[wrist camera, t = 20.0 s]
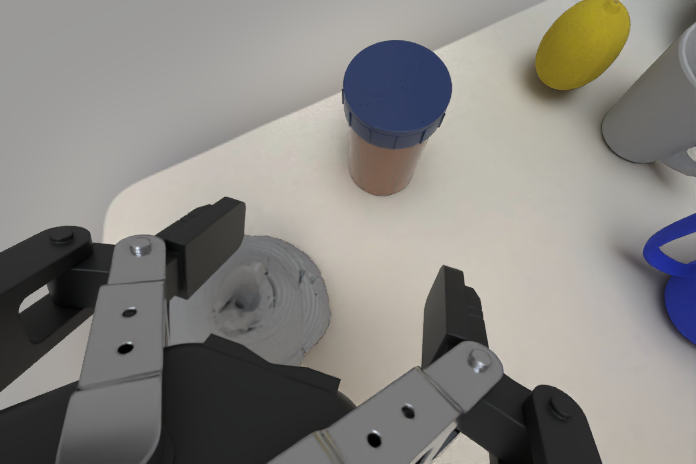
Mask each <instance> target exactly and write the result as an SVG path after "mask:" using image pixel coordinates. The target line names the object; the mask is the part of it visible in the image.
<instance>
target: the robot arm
mask: <svg viewBox="0 0 696 464" xmlns="http://www.w3.org/2000/svg"><path fill="white" fill-rule="evenodd" d="M245 210H246V206H245V203H244V202H242V201H239V200H235V199H232V198H229V197H224V198H222V199H221V200H219V201H218V202H216V203H215V204H213V205H210V204H208V205H205V206H202V207H198V208H196V209H194V210H193V211H191V212H190V213H188V215H185V216H184V217H182V218H181V219H180V220H178V221H176V222H175V223H173V224H172V225H170V226H169V227H167V228H165V229H164V230H162V231H161V232H159V233H158V234H156V235H155V236H153V235H134V236H130V237H127V238H124V239H122V240H121V241H119V242H118V243H117V244H116V245H112V244H102V243H92V239H91V235H90V232H89V231H88V230H86V229H85V228H82V227H78V226H60V227H54V228H50V229H47V230H44V231H42V232H40V233H38V234H36V235H34V236H32V237H30V238H28V239H26V240H24V241H22V242H20V243H18V244H16V245H14V246H13V247H10V248H8V249H6V250H4V251H3V252H0V392H1V391H2V390H3V389H5V388H6V387H7V386H8V385H9V384H11V383H12V382H13V381H14V380H15V379H17V378H18V377H19V376H20V375H21V374H22V373H24V372H25V371H26V370H27V369H28V368H30V367H31V366H32V365H33V364H34V363H35V362H37V361H38V360H39V359H40V358H41V357H42V356H44V355H45V354H46V353H47V352H49V351H50V350H51V349H52V348H53V347H54V346H56V345H57V344H58V343H59V342H60V341H62V340H63V339H64V338H65V337H66V336H68V335H69V334H70V333H71V332H72V331H73V330H74V329H76V328H77V327H78V326H79V325H81V324H82V323H83V322H84V321H85V320H86V319H88V318H89V317H90V316H91V315H92V314H94V315H93V320H92V324H91V329H90V334H89V339H88V343H87V347H86V352H85V356H84V361H83V365H82V370H81V374H80V379H79V380H78V381H76V382H73V383H70V384H68V385H65V386H62V387H60V388H58V389H55V390H52V391H49V392H47V393H45V394H42V395H39V396H36V397H34V398H32V399H29V400H26V401H24V402H21V403H18V404H16V405H13V406H10V407H8V408H5V409H3V410H0V464H432V463H433V462H434V461H435V460H436V459H437V458H438V457H439V456H440V455H441V454H442V453H443V452H444V451H445V450H446V449H447V448H448V447H449V446H450V444H451V443H452V442H453V441H454V440H455V439H456V438H457V437H458V436H459V435H460V434H461V433H463V434H464V435H466V436H467V437H469V438H470V439H472V440H473V441H474V442H476V443H477V444H479V445H480V446H482V447H483V448H484V449H486V450H487V451H489V458H490V464H602V461H601V458H600V455H599V453H598V450H597V447H596V444H595V441H594V438H593V435H592V432H591V430H590V427H589V424H588V421H587V418H586V416H585V414H584V412H583V411H582V409H581V408H580V407H579V405H578V404H577V403H576V402H575V401H574V400H573V399H572V398H571V397H570V396H568V395H567V394H566V393H564V392H563V391H561V390H559V389H557V388H555V387H553V386H549V385H538V386H537V387H535V389H534V390H533V391H531V390H529V389H527V388H526V387H524V386H522V385H521V384H519V383H517V382H516V381H514V380H512V379H511V378H509V377H508V376H507V375H506V374H504V373H503V372H504V370H503V366H502V363H501V361H500V360H499V358H498V357H497V356H496V355H495V354H494V353H493V352H492V351H491V350H490V349H489V346H488V341H487V335H486V329H485V324H484V320H483V312H482V306H481V301H480V298H479V296H478V295H477V293H476V292H475V290H474V289H473V288H471V287H468V286H465V283H464V275H463V271H461V270H458V269H454V268H451V267H448V266H445V265H443V266H442V267H441V268H440V270H439V272H438V275H437V277H436V279H435V281H434V284H433V286H432V288H431V290H430V292H429V295H428V297H427V300H426V304H425V308H424V323H423V344H422V365H421V368H420V367H419V366H416V367H414V368H412V369H411V370H409V371H408V372H407V373H405V374H404V375H402V376H401V377H399V378H398V379H397V380H395V381H394V382H392V383H391V384H389V385H388V386H387V387H385V388H384V389H382V390H381V391H379V392H378V393H377V394H375V395H374V396H372V397H371V398H369V399H368V400H367V401H365V402H364V403H362V404H361V405H359V406H358V407H356V405H355V404H354V403H353V402H352V401H351V400H350V399H349V398H348V397H346V396H345V395H344V394H343V393H341V392H340V391H338V387H339V383H340V380H341V379H339V378H336V377H333V376H330V375H327V374H325V373H322V372H319V371H316V370H313V369H310V368H307V367H298V366H289V365H280V364H273V363H270V362H268V361H266V360H265V359H263V358H262V357H260V356H259V355H257V354H256V353H254V352H253V351H251V350H250V349H248V348H247V347H245V346H244V345H242V344H240V343H237V342H234V341H231V340H228V339H226V338H223V337H220V336H217V335H214V334H212V333H211V334H210V335H209V336H208V338H207V339H206V340H205V341H204V343H181V344H176V345H171V344H170V300H171V299H172V298H173V297H174V296H177V297H179V298H182V299H185V300H188V299H189V298H190V297H191V296H192V295H193V294H194V293H195V292H196V291H197V290H198V289H199V288H200V287H201V286H202V285H203V284H204V283H205V282H206V281H207V280H208V279H209V278H210V277H211V276H212V275H213V274H214V273H215V272H216V271H217V270H218V269H219V268H220V267H221V266H222V265H223V264H224V263H225V262H226V261H227V260H228V259H229V258H230V257H231V256H232V255H233V254H234V253H235V252H236V251H237V250H238V249H239V247H240V246H241V243H242V241H243V237H244V225H245ZM46 284H47V287H48V290H49V294H47V295H46V296H44V297H43V298H41V299H40V300H39V301H37V302H35V303H34V304H33V305H31V306H30V307H28V308H27V309H25V310H24V311H22V312H21V313H19V307H20V305H21V303H22V302H23V300H24V299H25V298H26V297H27V296H29V295H30V294H32V293H33V292H35V291H36V290H38V289H39V288H41V287H43V286H44V285H46Z"/></svg>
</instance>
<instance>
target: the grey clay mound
mask: <svg viewBox="0 0 696 464" xmlns="http://www.w3.org/2000/svg"><path fill="white" fill-rule="evenodd" d="M300 280H301V282H300V284H299V281H300ZM330 316H331V311H330V308H329V301H328V294H327V290H326V286H325V283H324V280H323V278H322V277H321V273H320V270H319V269H318V268H317V266H316V265H315V264H314V262H313V261H312V260H311V258H310V257H309V256H308V255H307V254H305V253H304V252H303V251H301V250H299V249H298V248H296V247H294V246H293V245H291V244H290V243H287V242H284V241H283V240H281V239H276V238H273V237H270V236H249V235H244V237H243V241H242V243H241V246H240V247H239V249H238V250H237V251H236V252H235V253H234V254H233V255H232V256H231V257H230V258H229V259H228V260H227V261H226V262H225V263H224V264H223V265H222V266H221V267H220V268H219V269H218V270H217V271H216V272H215V273H214V274H213V275H212V276H211V277H210V278H209V279H208V280H207V281H206V282H205V283H204V284H203V285H202V286H201V287H200V288H199V289H198V290H197V291H196V292H195V293H194V294H193V295H192V296H191V297H190V298H189V299H188V300H185V299H182V298H179V297H177V296H174V297H173V298H172V299H171V300H170V344H171V345H176V344H181V343H204V341H205V340H206V339H207V338H208V336H209V335H210V334H211V333H212V334H214V335H217V336H220V337H223V338H226V339H228V340H231V341H234V342H237V343H240V344H242V345H244V346H245V347H247V348H248V349H250V350H251V351H253V352H254V353H256V354H257V355H259V356H260V357H262V358H263V359H265V360H266V361H268V362H270V363H273V364H280V365H289V366H298V367H299V366H300V364H301V362H302V359H303V357H304V352H305V353H308V351H309V350H310V349H311V347H312V346H313V345H315V344H317V343H318V339H321V338H322V337H323V335H324V334H325V332H326V329H327V327H328V326H329V322H330ZM302 350H304V352H303V351H302Z"/></svg>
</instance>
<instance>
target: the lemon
mask: <svg viewBox="0 0 696 464" xmlns="http://www.w3.org/2000/svg"><path fill="white" fill-rule="evenodd" d="M629 32H630V17H629V14H628V11H627V9H626V8H625V7H624V5H623V4H622V3H621V2H620V1H619V0H583V1H581V2H579V3H577V4H575V5H574V6H572V7H571V8H570V9H568V10H567V11H566V12H564V13H563V14H562V15H561V16H560V17H559V18H558V19H557V20H556V21H555V22H554V23H553V25H552V26H551V27H550V28H549V30H548V31H547V32H546V34H545V35H544V37H543V39H542V41H541V43H540V45H539V48H538V50H537V54H536V62H535V67H536V70H537V74H538V76H539V78H540V79H541V81H542V82H543V83H544V84H546V85H547V86H549V87H551V88H553V89H558V90H571V89H575V88H579V87H582V86H584V85H586V84H587V83H589V82H591V81H593V80H594V79H596V78H597V77H599V76H600V75H601V74H602V73H603V72H604V71H605V70H606V69H607V68H608V67H609V66H610V65H611V64H612V63H613V62H614V60H615V59H616V58H617V56H618V55H619V54H620V52H621V50H622V48H623V47H624V45H625V43H626V41H627V38H628V36H629Z"/></svg>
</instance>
